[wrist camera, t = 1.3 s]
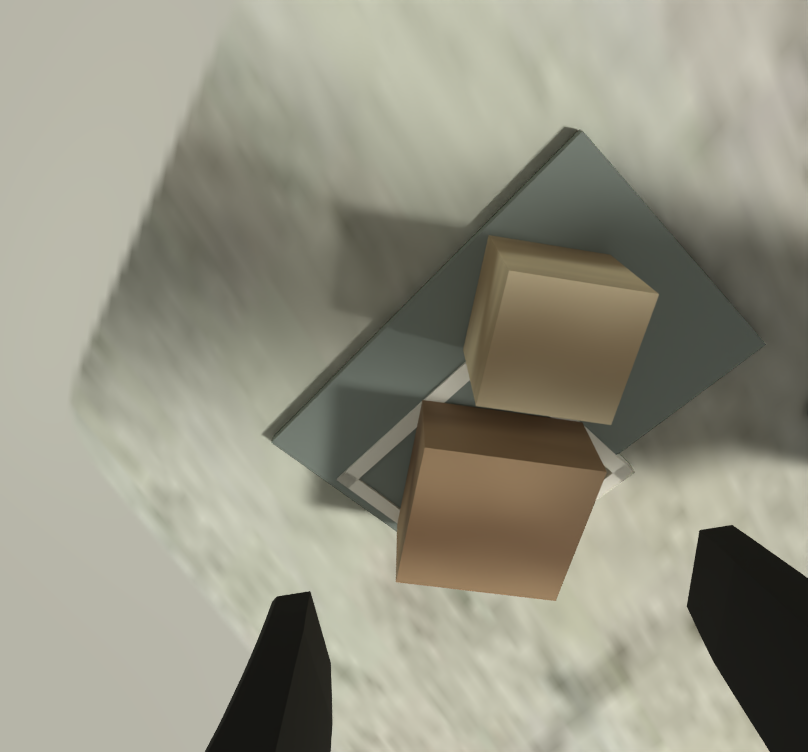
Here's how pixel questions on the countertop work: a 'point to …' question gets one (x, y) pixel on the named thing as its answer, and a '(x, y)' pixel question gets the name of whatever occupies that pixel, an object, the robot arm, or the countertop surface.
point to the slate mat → (449, 318)
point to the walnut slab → (495, 500)
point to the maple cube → (554, 330)
